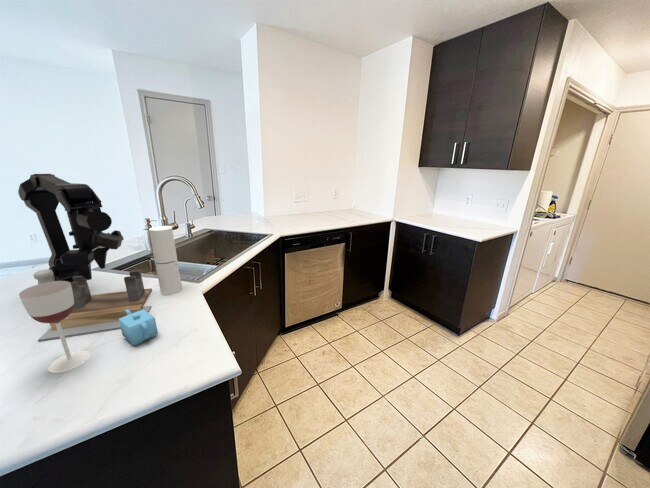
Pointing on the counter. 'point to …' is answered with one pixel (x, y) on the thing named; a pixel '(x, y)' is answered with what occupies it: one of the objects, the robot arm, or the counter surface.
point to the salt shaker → (44, 276)
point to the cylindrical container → (165, 259)
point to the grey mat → (84, 329)
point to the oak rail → (96, 316)
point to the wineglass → (54, 316)
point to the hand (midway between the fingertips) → (96, 273)
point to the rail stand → (109, 294)
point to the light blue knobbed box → (138, 326)
